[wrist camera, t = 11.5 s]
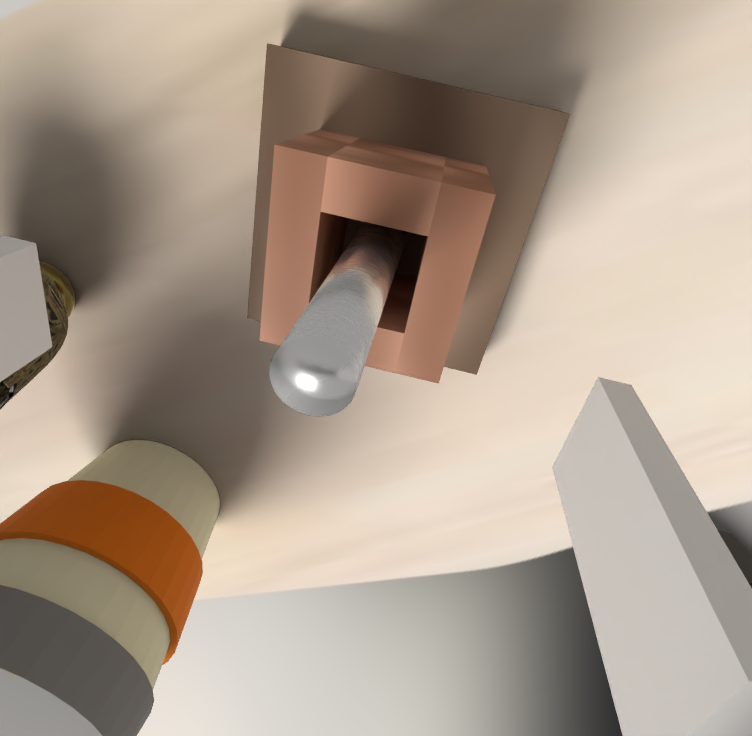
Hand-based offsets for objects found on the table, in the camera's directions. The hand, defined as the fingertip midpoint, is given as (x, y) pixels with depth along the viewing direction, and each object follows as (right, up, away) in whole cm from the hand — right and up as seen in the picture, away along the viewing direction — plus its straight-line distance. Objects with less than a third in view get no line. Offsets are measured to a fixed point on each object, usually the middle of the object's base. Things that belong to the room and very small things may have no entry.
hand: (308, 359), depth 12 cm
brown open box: (+2, +6, +10) cm, 12 cm away
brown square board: (+2, +7, +12) cm, 14 cm away
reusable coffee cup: (-14, -9, +24) cm, 29 cm away
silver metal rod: (+2, +6, +10) cm, 12 cm away
